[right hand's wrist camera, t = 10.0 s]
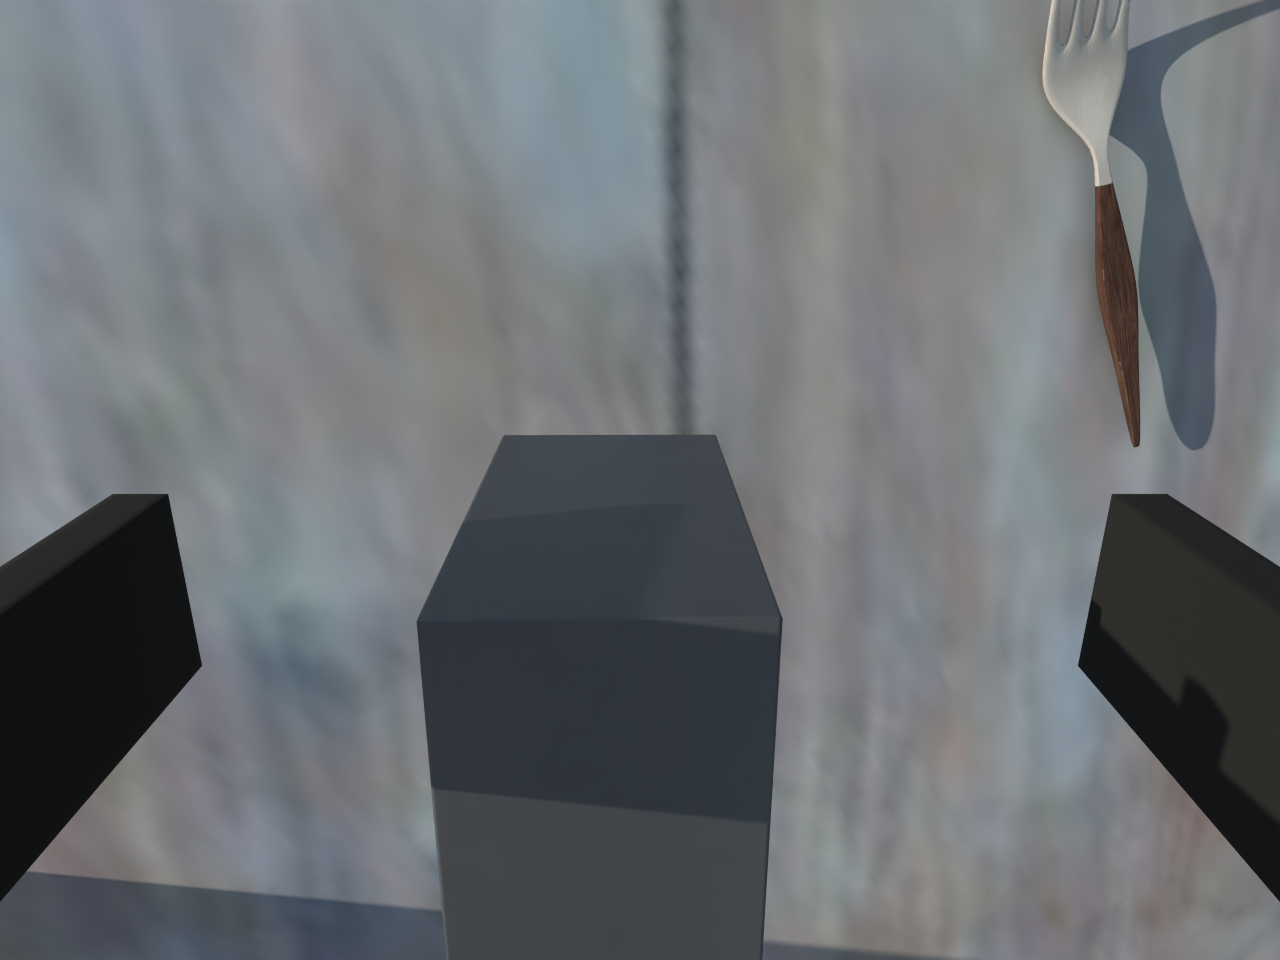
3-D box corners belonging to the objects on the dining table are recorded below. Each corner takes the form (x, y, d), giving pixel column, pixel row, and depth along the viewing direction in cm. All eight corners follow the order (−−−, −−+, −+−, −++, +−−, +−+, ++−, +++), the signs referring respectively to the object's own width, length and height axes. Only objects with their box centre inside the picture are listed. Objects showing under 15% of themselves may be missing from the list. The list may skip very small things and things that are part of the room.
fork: (1091, 452, 32) (1120, 470, 30) (1025, -33, 27) (1055, -49, 25) (1164, 432, 31) (1199, 449, 30) (1111, -60, 26) (1149, -79, 25)
